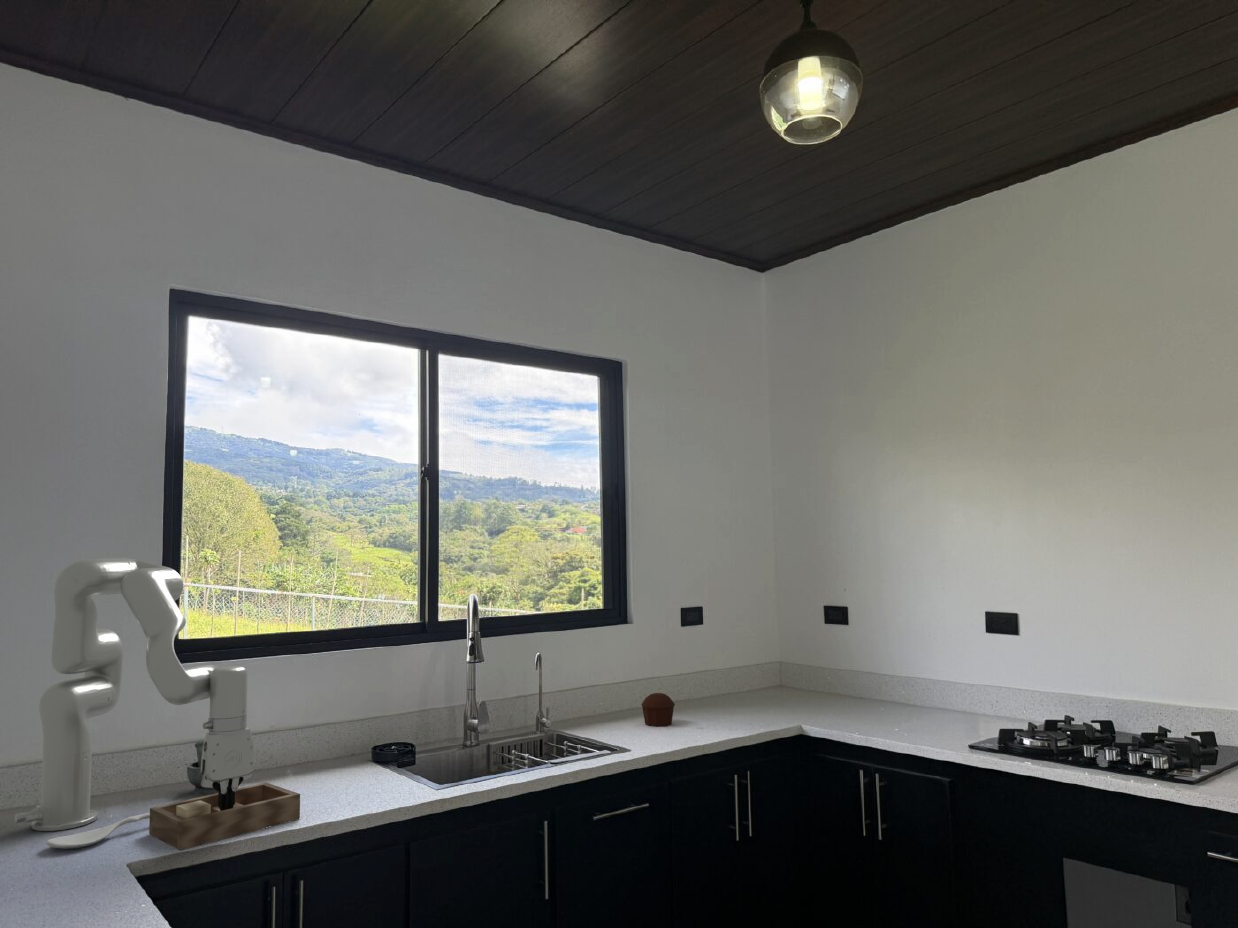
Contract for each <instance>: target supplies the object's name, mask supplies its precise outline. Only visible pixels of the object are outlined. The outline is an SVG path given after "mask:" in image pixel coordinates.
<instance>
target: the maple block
mask: <svg viewBox="0 0 1238 928" xmlns="http://www.w3.org/2000/svg"><path fill="white" fill-rule="evenodd" d="M210 813H211V804H208V803H206V802H203V801H201V800H200V801H196V802H191V803H187V804H182V805H178V806H176V815H177V816H179V817H181V818H183V819H189V818H193V817H197V816H202V815H206V814H210Z"/></svg>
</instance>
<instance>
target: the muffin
mask: <svg viewBox="0 0 1238 928" xmlns="http://www.w3.org/2000/svg"><path fill="white" fill-rule="evenodd" d="M640 705H641V707H642V714H643V719H644V724H645V726H647V727H652V728H653V727H654V728H660V727H661V728H662V727H670V726H671V725H672V724H673V718H674V717H673V716H674V707H675V705H676V704H675V703H674V701H673V700H672V698H671V697H670V696H669V695H668V694H666V693H662V692H654V693H651V694H649V695H647V696H646V697H645V698H644V700H643V701H642V703H641V704H640Z"/></svg>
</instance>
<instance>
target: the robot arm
mask: <svg viewBox="0 0 1238 928" xmlns="http://www.w3.org/2000/svg"><path fill="white" fill-rule="evenodd" d="M184 585H185V584H184V581H183V577H182V576H181V575H180V574H179V573H178V572H177V571H176V570H175V569H173V568H171V567H168V566H164V565H160V564H156V563H152V562H149V561H144V560H140V559H136V558H131V557H130V558H129V557H110V558H109V557H102V558H101V557H98V558H86V559H81V560H77V561H74V562H71V563H70V564H68V565H67V566H65V567H64V568H63V569H62V570H61V571H60V572H59V574H58V575H57V578H56V579H55V583H54V591H53V592H54V593H53V598H54V621H53V630H52V640H51V641H52V645H51V653H50V654H51V656H50V657H51V658H50V659H51V666H52V668H53V670H55V672H56V673H58V674H60V675H77V674H83V673H84V674H83V675H84V676H83V677H77V678H72V679H67V680H63V681H59V682H56V683H55V684H52V685H51V686H48V688H47V689H46V690H45V691H44V692H42V695H41V697H40V699H39V703H38V708H39V709H38V711H39V715H40V717H39V718H40V721H41V728H42V730H41V731H42V759H41V760H42V761H41V762H42V763H41V764H42V765H41V787H40V792H41V793H40V804H36V806H35V807H36V808H33V809H31V811H27V812H25V811H24V812H20V813H16V814H14V823H15V824H20V823H25V824H27V823H31V829H33V830H34V831H38V832H55V831H64V830H69V829H74V828H79V827H82V826H85V825H88V824H91V823H93V822H94V821H96V820H97V818H98V811H96V810H94V809H91V788H92V787H91V785H92V758H93V757H92V756H93V755H92V753H93V738H92V734H91V731H90V728H89V727H88V724H87V722H86V720H87V719H90V718H95V717H98V716H99V717H100V716H102V715H106V714H107V713H110V712H111V711H112V710H113V709H114V708H115V707H116V706H117V703H118V702H119V700H120V695H121V689H122V688H121V687H122V675H123V665H124V647H123V646H124V645H123V642H122V639H121V638H120V636H119V635H118V634H117V633H116V632H115V631H113V630H112V629H107V628H98V619H99V615H98V608H97V605H96V602H95V601H94V599H93V597H97V596H109V595H120V594H121V595H122V597H123V599H124V602H126V604H127V606H128V608H129V609H130V611H131V613H132V614H133V616H134V618H135V620H136V622H137V623H138V625H139V627H140V629H141V630H142V633H144V635H145V637H146V639H147V643H146V650H145V658H146V659H145V660H146V662H145V663H146V669H147V672H148V675H149V677H150V679H151V681H152V682H153V685H154V687H156V688H155V689H156V690H157V691H158V692H159V694H160V695H161V696H162V698H163V699H164V700H165V701H166V702H168V703H169V704H171V705H175V706H183V705H186V704H191V703H193V702H194V703H195V702H198V701H203V700H206V699H209V717H208V719H207V721H206V722H203V723H202V728H203V730H207V731H208V732H206V733H205V736H204V739H203V741H204V745H203V751H202V759H201V777H202V781H201V786H202V787H209V788H214V789H215V790H216V791H217V793H218V807H219V808H220V810H221V811H223V810H227V809H231V808H233V805H235V791H237V789H238V788H239V786H240V785H241V784H242V782H244V781H246V780H248V779H250V778H251V777H252V776H253V772H254V770H255V751H254V742H253V740H254V739H253V735H252V731H251V727H247V725H248V724H247V723H248V722H247V719H248V717H247V712H248V711H247V710H248V671H247V669H246V668H245V667H244V666H241V665H239V666H238V665H229V666H220V665H216V664H201V665H196V666H190V667H189V666H188V667H184V666H183V665H182V663H181V662H180V659H179V658H178V656H177V654H176V651H175V645H174V644H175V643H174V641H175V639H176V636H177V635H178V634H179V633H180V632H181V631H182V630H183V629H184V627H185V626H186V623H187V622H186V621H187V620H186V618H185V616H184V615H183V612H182V610H181V609H180V608H179V605H178V604H177V603H176V601H177V600H178V599H179V598H181V596H182V593H184V592H183V591H184Z"/></svg>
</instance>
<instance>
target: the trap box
mask: <svg viewBox="0 0 1238 928" xmlns="http://www.w3.org/2000/svg"><path fill="white" fill-rule="evenodd" d="M200 800H201V801H203V802H206V803H208V804H211V813H210V814H206V815H202V816H197V817H193V818H189V819H183V818H181V817H179V816H177V815H176V806H178V805H182V804H187V803H191V802H196V801H200ZM149 813H150V818H149V826H148V827H149V831H148V834H150V836H151V835H152V836H151V837H153V836H154V837H153V838H155V839H157V840H159V841H160V842H163V843H164V844H166V845H169V846H171V847H172V848H173V849H174V848H175V849H176V850H178V851H183V850H188V849H191V848H195V847H199V846H203V845H206V844H210V843H213V842H217V841H221V840H225V839H229V838H233V837H236V836H242V835H245V834H248V833H252V832H256V831H260V830H264V829H267V828H266V827H268V828H270V827H269V826H272V827H275V825H276V826H278V825H283V824H286V823H285V822H287V823H290V822H289V821H291V822H294V821H293V820H295V821H297V820H296V819H299V818H300V819H301V793H298V792H295V791H294V790H293V791H292V790H289V789H286V788H284V787H280V786H278V785H275V784H272V783H269V782H261V783H258V784H252V785H248V786H243V787H238V789H237V791H235V805H233V808H231V809H227V810H223V811H221V810H220V808H219V807H218V792H217V793H214V794H208V795H201V796H199V797H194V798H190V799H184V800H180V801H176V802H171V803H167V804H162V805H159V806H153V807H150V808H149ZM300 819H299V820H300ZM263 828H264V829H263Z"/></svg>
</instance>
